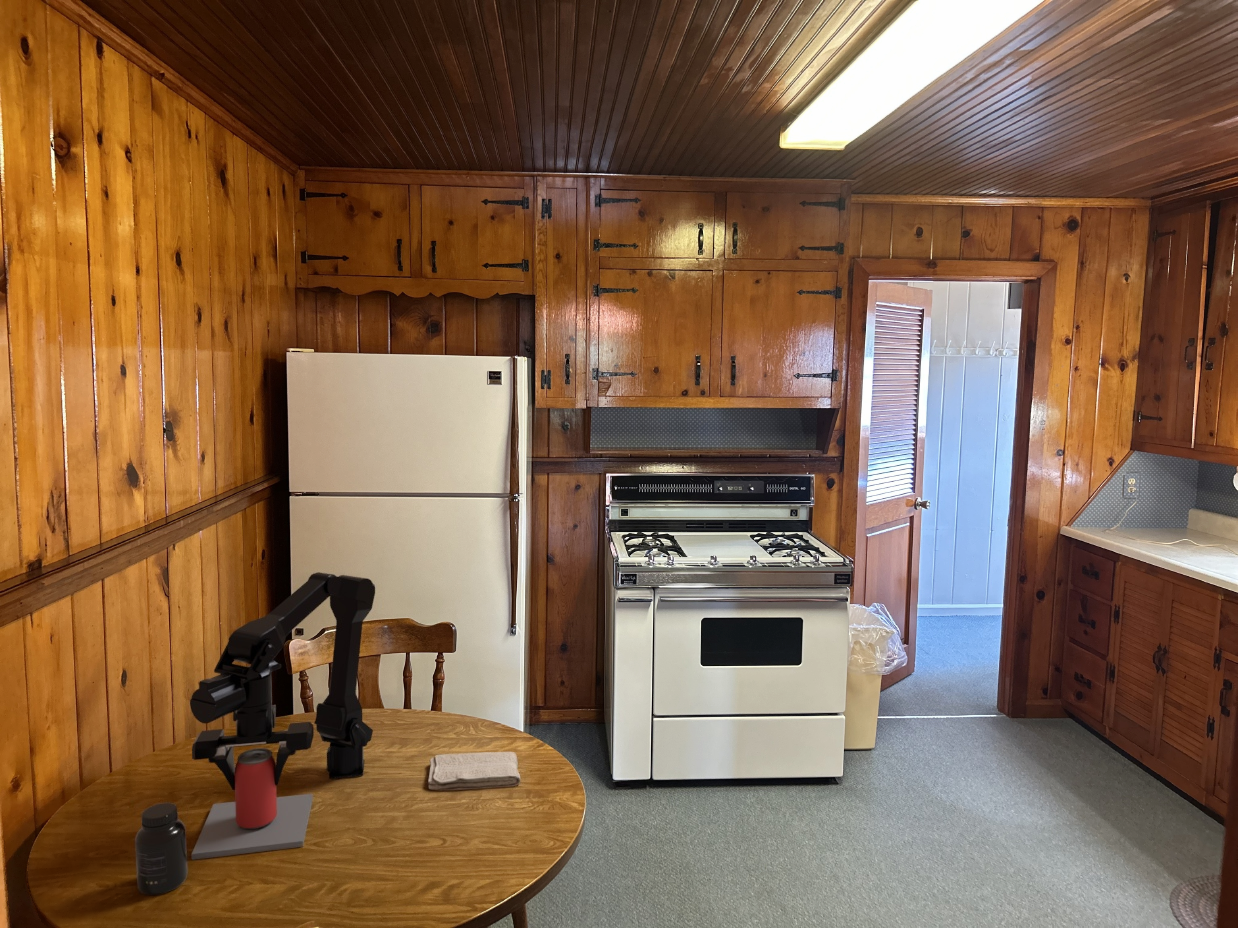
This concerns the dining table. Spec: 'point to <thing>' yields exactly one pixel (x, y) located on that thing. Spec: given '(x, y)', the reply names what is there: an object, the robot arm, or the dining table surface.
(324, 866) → the dining table surface
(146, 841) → the supplement bottle
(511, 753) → the washcloth
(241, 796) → the beer can
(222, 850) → the slate board
